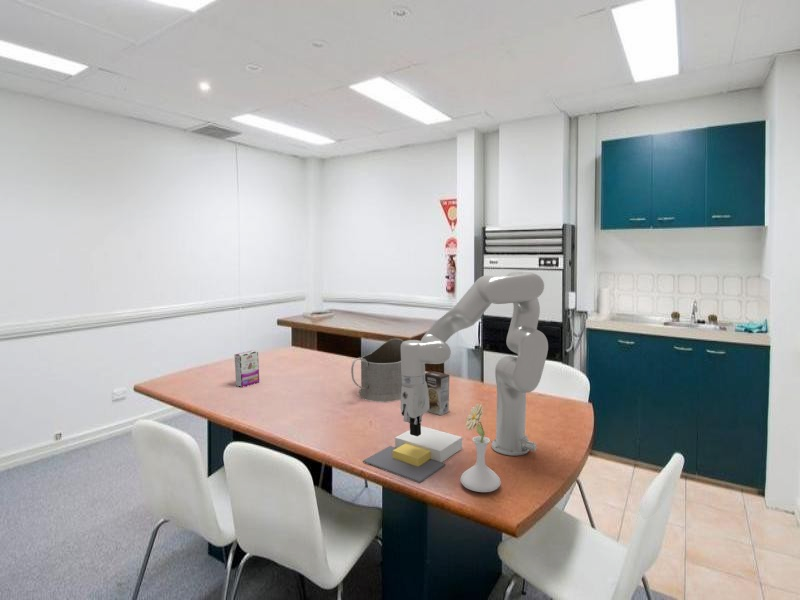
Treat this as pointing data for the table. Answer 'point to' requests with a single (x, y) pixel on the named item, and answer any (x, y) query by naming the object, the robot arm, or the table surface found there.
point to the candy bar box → (246, 368)
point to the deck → (432, 442)
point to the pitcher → (381, 373)
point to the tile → (411, 454)
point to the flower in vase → (479, 458)
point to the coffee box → (438, 392)
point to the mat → (403, 465)
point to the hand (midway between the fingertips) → (415, 434)
